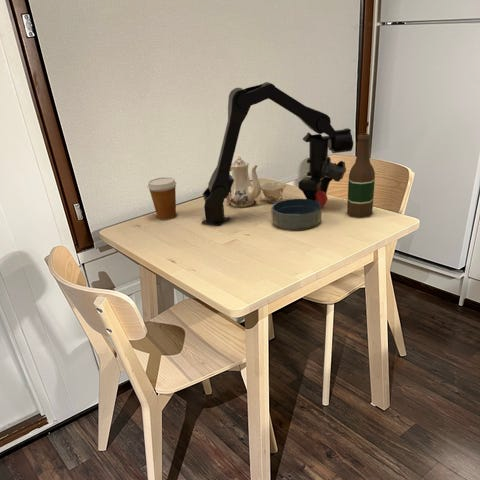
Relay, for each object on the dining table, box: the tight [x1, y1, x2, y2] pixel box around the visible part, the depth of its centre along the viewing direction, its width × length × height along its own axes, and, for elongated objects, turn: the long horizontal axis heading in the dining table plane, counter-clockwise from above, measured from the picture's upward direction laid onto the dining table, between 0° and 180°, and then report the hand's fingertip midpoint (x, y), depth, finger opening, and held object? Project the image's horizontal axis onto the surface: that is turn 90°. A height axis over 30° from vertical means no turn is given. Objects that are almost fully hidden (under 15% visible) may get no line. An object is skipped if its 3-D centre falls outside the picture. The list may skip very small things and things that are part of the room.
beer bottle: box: [346, 132, 376, 218], centre depth 148 cm, size 8×8×24 cm
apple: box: [316, 190, 328, 210], centre depth 160 cm, size 6×6×7 cm
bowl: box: [270, 198, 322, 231], centre depth 151 cm, size 15×15×5 cm
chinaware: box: [226, 155, 286, 208], centre depth 170 cm, size 28×17×17 cm, turn 58°
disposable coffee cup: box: [147, 176, 177, 220], centre depth 163 cm, size 10×10×12 cm
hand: (318, 203), depth 161 cm, fingers open, 9 cm apart
